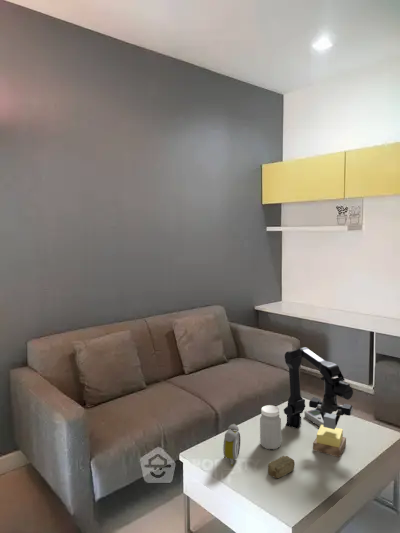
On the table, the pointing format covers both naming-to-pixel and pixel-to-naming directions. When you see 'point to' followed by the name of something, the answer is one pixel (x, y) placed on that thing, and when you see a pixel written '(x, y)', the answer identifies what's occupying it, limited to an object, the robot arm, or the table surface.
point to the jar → (270, 427)
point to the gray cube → (330, 420)
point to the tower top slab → (330, 436)
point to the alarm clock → (231, 443)
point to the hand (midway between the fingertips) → (330, 423)
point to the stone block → (281, 466)
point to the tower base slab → (330, 448)
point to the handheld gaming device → (314, 416)
